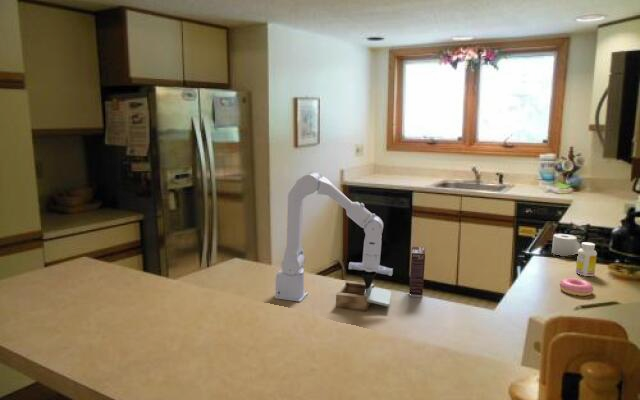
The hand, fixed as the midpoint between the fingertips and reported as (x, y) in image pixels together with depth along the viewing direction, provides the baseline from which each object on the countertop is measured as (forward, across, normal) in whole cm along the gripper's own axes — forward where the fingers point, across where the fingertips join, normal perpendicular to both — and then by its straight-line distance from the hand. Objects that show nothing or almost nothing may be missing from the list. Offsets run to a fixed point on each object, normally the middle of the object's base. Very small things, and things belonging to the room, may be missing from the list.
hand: (368, 292), depth 162 cm
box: (+4, -4, 0) cm, 6 cm away
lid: (+1, +3, 0) cm, 3 cm away
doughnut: (+1, +70, +36) cm, 78 cm away
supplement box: (+3, +14, +15) cm, 21 cm away
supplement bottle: (0, +77, +58) cm, 96 cm away
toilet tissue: (0, +74, +85) cm, 113 cm away
